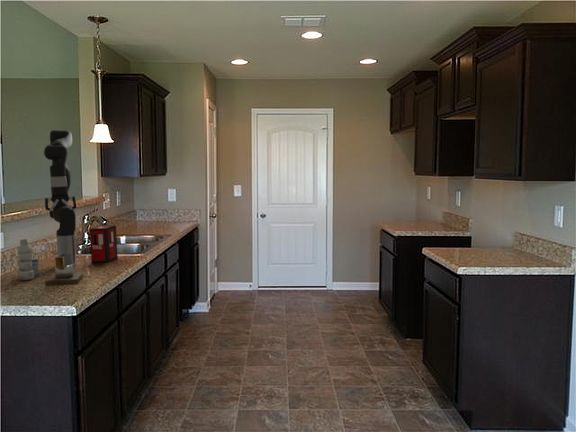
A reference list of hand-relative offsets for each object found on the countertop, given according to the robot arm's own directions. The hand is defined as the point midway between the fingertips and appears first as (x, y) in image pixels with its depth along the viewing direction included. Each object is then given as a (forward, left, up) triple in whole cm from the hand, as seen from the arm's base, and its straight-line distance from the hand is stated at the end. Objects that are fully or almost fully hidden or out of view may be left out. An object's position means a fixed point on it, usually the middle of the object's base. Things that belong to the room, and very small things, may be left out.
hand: (61, 217), depth 250 cm
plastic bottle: (+6, -17, -30) cm, 35 cm away
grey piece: (+14, +2, -27) cm, 31 cm away
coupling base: (+14, +2, -30) cm, 33 cm away
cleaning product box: (-36, +14, -30) cm, 49 cm away
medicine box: (-2, -18, -30) cm, 35 cm away
